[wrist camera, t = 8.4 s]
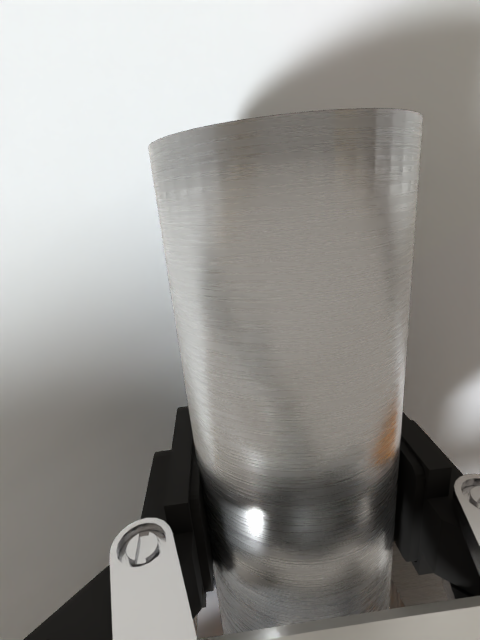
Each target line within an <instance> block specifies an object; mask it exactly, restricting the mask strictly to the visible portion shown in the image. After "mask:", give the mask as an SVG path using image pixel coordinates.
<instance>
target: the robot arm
mask: <svg viewBox="0 0 480 640" xmlns="http://www.w3.org/2000/svg"><path fill="white" fill-rule="evenodd" d="M394 542H395V544H396V546H397V547H398V549H399V551H400V553H401V555H402V557H403V558H404V560H405V561H406V562H412V564H413V566H414V568H415V570H416V571H417V573H418V575H424V574H431V573H434V574H435V575H437V576H439V577H441V578H442V581H443V586H444V589H445V592H446V596H447V599H448V600H446V601H439V602H433V603H426V604H420V605H413V606H406V607H400V608H393V609H387V610H380V611H374V612H367V613H361V614H354V615H348V616H341V617H335V618H328V619H322V620H315V621H309V622H303V623H296V624H290V625H284V626H278V627H271V628H265V629H259V630H253V631H246V632H240V633H234V634H228V635H221V636H215V637H209V638H203V639H197V636H196V632H195V628H194V623H193V619H194V617H195V616H196V615H197V614H198V613H199V611H200V610H201V609H202V608H203V607H206V592H208V591H213V588H214V583H213V556H212V549H211V543H210V536H209V530H208V523H207V517H206V510H205V504H204V497H203V491H202V484H201V478H200V471H199V468H198V464H197V459H196V453H195V446H194V440H193V433H192V427H191V420H190V414H189V408H188V406H187V407H179V408H178V409H177V415H176V422H175V429H174V436H173V444H172V450H167V451H160V452H155V454H154V458H153V462H152V467H151V472H150V477H149V482H148V487H147V492H146V497H145V502H144V506H143V511H142V516H141V519H140V520H137V521H135V522H133V523H131V524H129V525H128V526H126V527H125V528H124V529H123V530H121V531H120V533H119V534H118V535H117V536H116V537H115V539H114V541H113V543H112V545H111V548H110V555H109V557H110V565H109V566H108V567H106V568H105V569H104V570H103V571H102V572H101V573H99V574H98V575H97V576H96V577H95V578H94V579H93V580H91V581H90V582H89V583H88V584H87V585H86V586H85V587H83V588H82V589H81V590H80V591H79V592H78V593H76V594H75V595H74V596H73V597H72V598H71V599H70V600H68V601H67V602H66V603H65V604H64V605H63V606H62V607H60V608H59V609H58V610H57V611H56V612H55V613H53V614H52V615H51V616H50V617H49V618H48V619H47V620H45V621H44V622H43V623H42V624H41V625H40V626H39V627H37V628H36V629H35V630H34V631H33V632H32V633H30V634H29V635H28V636H27V637H26V638H25V639H24V640H480V474H466V475H463V474H462V473H461V472H460V471H459V470H458V469H457V468H456V466H455V465H454V464H453V463H452V462H451V461H450V460H449V459H448V458H447V457H446V455H445V454H444V453H443V452H442V451H441V450H440V449H439V448H438V447H437V446H436V444H435V443H434V442H433V441H432V440H431V439H430V438H429V437H428V436H427V434H426V433H425V432H424V431H423V430H422V429H421V428H420V427H419V426H418V425H417V423H415V422H414V421H413V420H410V419H409V418H408V417H407V416H406V415H405V414H404V413H403V411H402V426H401V440H400V455H399V469H398V483H397V498H396V512H395V527H394Z"/></svg>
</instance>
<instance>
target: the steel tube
mask: <svg viewBox="0 0 480 640" xmlns="http://www.w3.org/2000/svg"><path fill="white" fill-rule="evenodd" d="M422 124H423V116H422V114H420V113H418V112H415V111H410V110H402V109H384V108H361V109H337V110H323V111H309V112H299V113H289V114H280V115H272V116H264V117H257V118H250V119H243V120H237V121H231V122H225V123H219V124H214V125H209V126H204V127H199V128H195V129H191V130H187V131H183V132H179V133H175V134H172V135H169V136H166V137H163V138H160V139H158V140H156V141H154V142H152V143H151V144H150V145H149V146H148V150H149V156H150V163H151V169H152V175H153V182H154V188H155V195H156V201H157V208H158V214H159V221H160V227H161V233H162V240H163V246H164V253H165V259H166V266H167V272H168V279H169V285H170V291H171V298H172V304H173V311H174V317H175V324H176V330H177V337H178V343H179V349H180V356H181V362H182V369H183V375H184V382H185V388H186V395H187V401H188V408H189V414H190V420H191V427H192V433H193V440H194V446H195V453H196V459H197V464H198V468H199V471H200V478H201V484H202V491H203V497H204V504H205V510H206V517H207V523H208V530H209V536H210V543H211V549H212V556H213V569H214V575H215V582H216V588H217V594H218V601H219V607H220V614H221V620H222V627H223V633H224V635H228V634H234V633H240V632H246V631H253V630H259V629H265V628H271V627H278V626H284V625H290V624H296V623H303V622H309V621H315V620H322V619H328V618H335V617H341V616H348V615H354V614H361V613H367V612H374V611H380V610H387V609H389V599H390V584H391V570H392V555H393V541H394V527H395V512H396V498H397V483H398V469H399V455H400V440H401V426H402V411H403V397H404V383H405V368H406V354H407V339H408V325H409V311H410V296H411V282H412V267H413V253H414V239H415V224H416V210H417V196H418V181H419V167H420V152H421V138H422Z"/></svg>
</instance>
